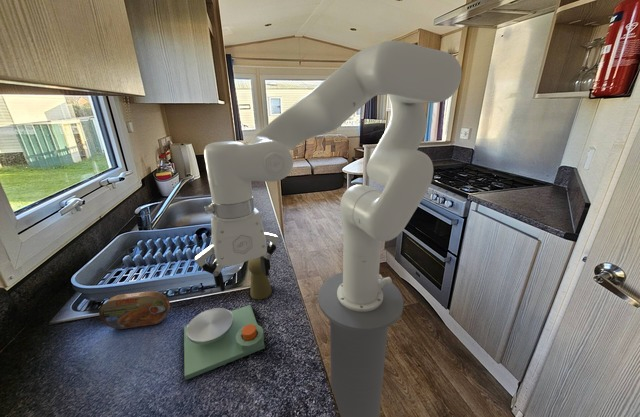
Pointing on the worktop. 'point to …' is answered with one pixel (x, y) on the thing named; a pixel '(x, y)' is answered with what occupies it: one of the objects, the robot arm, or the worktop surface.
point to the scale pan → (210, 326)
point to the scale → (222, 345)
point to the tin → (134, 310)
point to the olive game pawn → (258, 280)
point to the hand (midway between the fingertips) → (244, 279)
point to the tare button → (249, 332)
